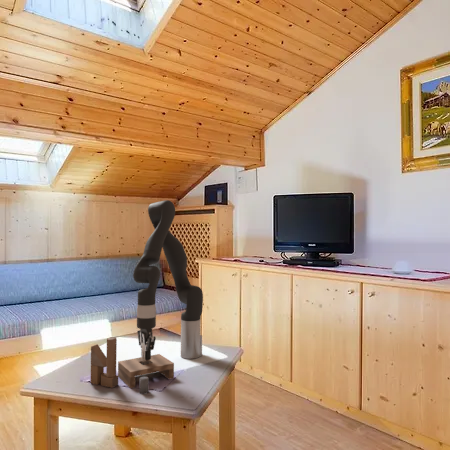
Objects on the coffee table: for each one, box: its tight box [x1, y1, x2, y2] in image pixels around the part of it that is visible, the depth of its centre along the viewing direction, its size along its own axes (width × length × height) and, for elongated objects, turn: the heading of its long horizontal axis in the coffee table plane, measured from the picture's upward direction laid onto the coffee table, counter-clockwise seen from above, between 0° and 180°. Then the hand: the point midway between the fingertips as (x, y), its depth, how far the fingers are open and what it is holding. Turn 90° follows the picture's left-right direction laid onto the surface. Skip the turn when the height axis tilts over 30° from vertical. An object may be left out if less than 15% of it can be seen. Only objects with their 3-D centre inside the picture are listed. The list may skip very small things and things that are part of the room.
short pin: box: [139, 376, 149, 395], centre depth 141 cm, size 3×3×5 cm
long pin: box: [142, 342, 150, 365], centre depth 156 cm, size 3×3×11 cm
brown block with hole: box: [117, 353, 175, 389], centre depth 156 cm, size 18×14×6 cm
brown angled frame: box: [90, 336, 119, 389], centre depth 149 cm, size 4×11×18 cm, turn 65°
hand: (146, 358), depth 156 cm, fingers closed on long pin, 3 cm apart
